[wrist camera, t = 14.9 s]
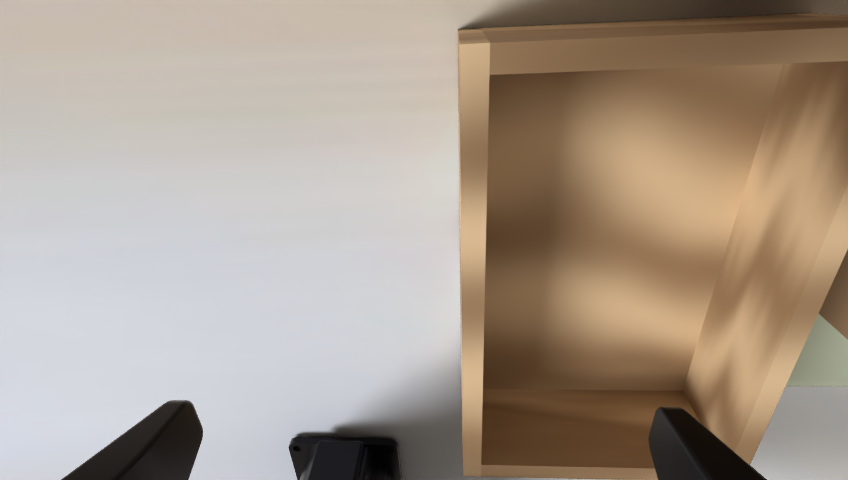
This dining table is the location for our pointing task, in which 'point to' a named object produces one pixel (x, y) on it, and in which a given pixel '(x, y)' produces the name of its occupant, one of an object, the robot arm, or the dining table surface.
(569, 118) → the tan wooden box
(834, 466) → the dining table surface
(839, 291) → the lid
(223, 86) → the dining table surface
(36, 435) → the dining table surface
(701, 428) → the robot arm
